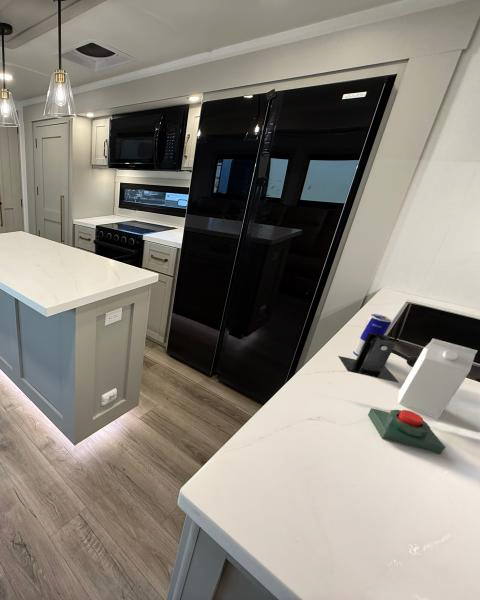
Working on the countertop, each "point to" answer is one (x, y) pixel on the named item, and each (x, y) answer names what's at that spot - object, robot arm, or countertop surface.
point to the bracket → (372, 358)
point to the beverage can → (373, 329)
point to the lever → (401, 355)
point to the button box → (405, 431)
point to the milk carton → (436, 377)
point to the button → (410, 418)
